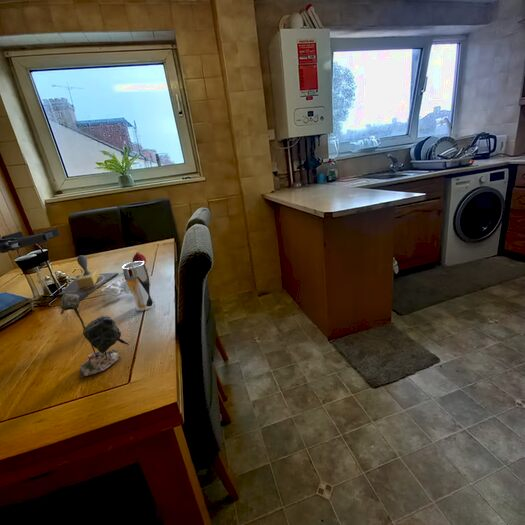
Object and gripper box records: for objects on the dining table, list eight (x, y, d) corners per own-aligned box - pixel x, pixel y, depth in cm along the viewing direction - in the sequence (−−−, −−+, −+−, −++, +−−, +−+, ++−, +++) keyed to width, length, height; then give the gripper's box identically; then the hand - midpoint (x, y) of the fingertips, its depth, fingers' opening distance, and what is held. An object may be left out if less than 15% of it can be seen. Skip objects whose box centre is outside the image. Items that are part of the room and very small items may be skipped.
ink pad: (61, 303, 103) (60, 299, 102) (71, 296, 107) (70, 293, 107) (78, 302, 102) (77, 298, 101) (87, 295, 107) (86, 292, 106)
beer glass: (131, 307, 93) (118, 266, 87) (151, 299, 97) (139, 259, 92) (139, 314, 88) (125, 270, 83) (160, 305, 92) (148, 263, 87)
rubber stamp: (85, 279, 121) (76, 253, 117) (100, 276, 123) (91, 251, 118) (79, 288, 112) (68, 260, 108) (94, 285, 114) (85, 257, 109)
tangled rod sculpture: (119, 282, 120) (115, 273, 118) (152, 274, 120) (149, 266, 119) (98, 302, 101) (93, 292, 100) (137, 293, 102) (133, 283, 100)
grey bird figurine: (131, 363, 65) (105, 287, 58) (76, 382, 61) (41, 302, 54) (131, 345, 72) (108, 275, 65) (82, 360, 68) (52, 287, 62)
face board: (42, 297, 110) (41, 295, 110) (78, 276, 129) (78, 274, 128) (88, 294, 108) (87, 292, 107) (118, 274, 126) (117, 272, 126)
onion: (142, 270, 127) (137, 254, 124) (132, 270, 129) (127, 254, 126) (150, 265, 132) (146, 249, 129) (141, 265, 134) (136, 249, 131)
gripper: (-57, 269, 79) (12, 246, 99) (19, 263, 76) (75, 241, 96) (-71, 244, 77) (3, 226, 96) (7, 236, 73) (67, 219, 93)
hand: (39, 233), depth 96 cm, fingers open, 13 cm apart
